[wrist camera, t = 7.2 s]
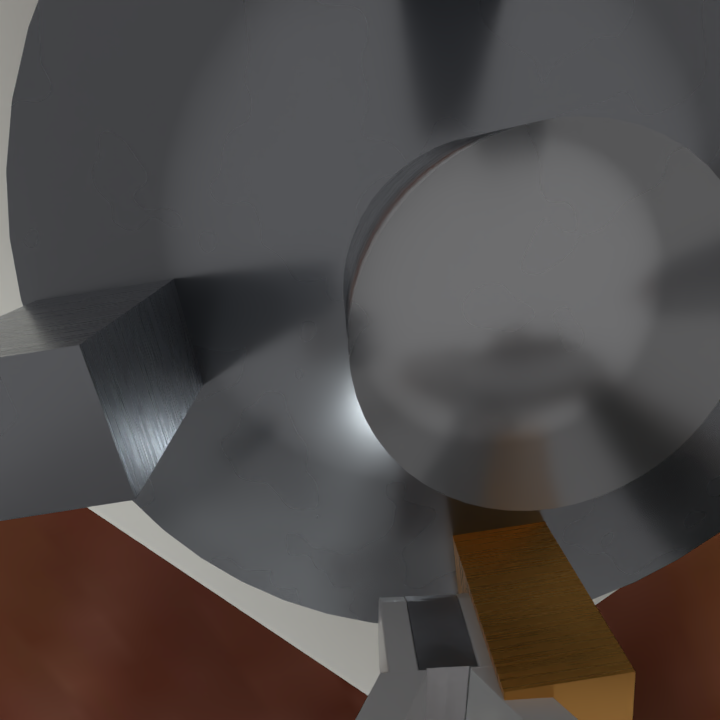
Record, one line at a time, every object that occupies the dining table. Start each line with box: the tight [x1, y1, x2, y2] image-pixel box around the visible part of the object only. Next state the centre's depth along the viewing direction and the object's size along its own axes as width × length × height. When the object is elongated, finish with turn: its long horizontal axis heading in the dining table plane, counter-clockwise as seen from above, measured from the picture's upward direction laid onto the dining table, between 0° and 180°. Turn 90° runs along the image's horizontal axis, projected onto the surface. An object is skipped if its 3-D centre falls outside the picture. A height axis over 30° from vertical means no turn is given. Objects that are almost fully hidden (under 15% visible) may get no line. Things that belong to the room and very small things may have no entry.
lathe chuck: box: [0, 0, 720, 720], centre depth 9 cm, size 16×16×6 cm
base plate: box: [0, 0, 618, 695], centre depth 12 cm, size 22×22×2 cm
